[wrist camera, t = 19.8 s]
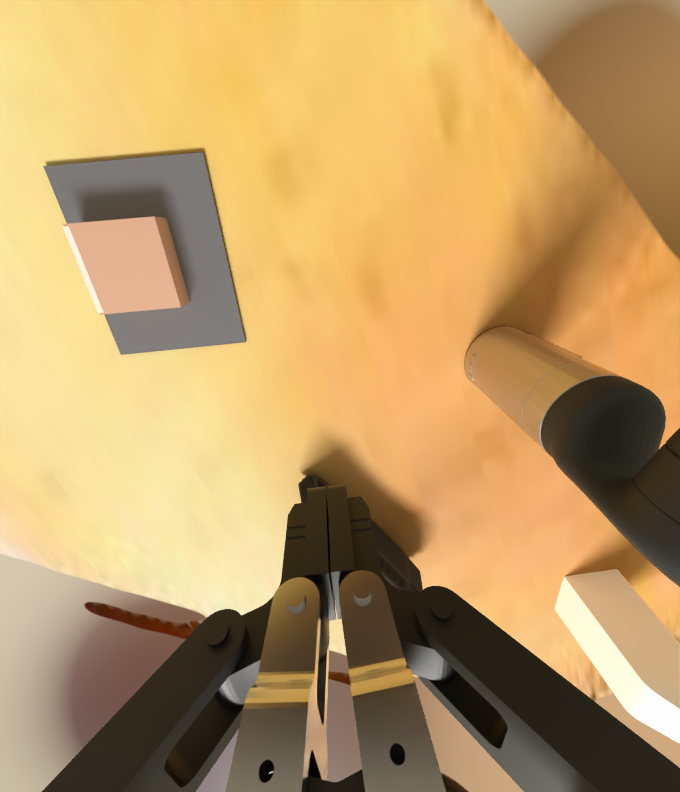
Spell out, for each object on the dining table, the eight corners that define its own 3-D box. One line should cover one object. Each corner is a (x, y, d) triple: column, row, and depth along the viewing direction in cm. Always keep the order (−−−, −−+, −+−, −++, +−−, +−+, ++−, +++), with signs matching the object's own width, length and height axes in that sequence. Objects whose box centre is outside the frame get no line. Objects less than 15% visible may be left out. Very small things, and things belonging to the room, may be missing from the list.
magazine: (282, 512, 44) (415, 663, 47) (300, 499, 43) (434, 654, 46) (309, 459, 60) (406, 573, 63) (322, 449, 59) (420, 566, 62)
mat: (204, 153, 33) (202, 152, 33) (246, 341, 42) (245, 342, 41) (46, 167, 33) (43, 166, 32) (122, 353, 42) (120, 354, 41)
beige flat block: (153, 216, 32) (61, 224, 32) (180, 307, 36) (99, 314, 36) (166, 218, 35) (81, 225, 35) (190, 302, 39) (114, 309, 39)
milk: (564, 576, 69) (689, 748, 46) (616, 568, 69) (769, 737, 46) (554, 609, 74) (662, 778, 51) (603, 602, 74) (734, 768, 51)
